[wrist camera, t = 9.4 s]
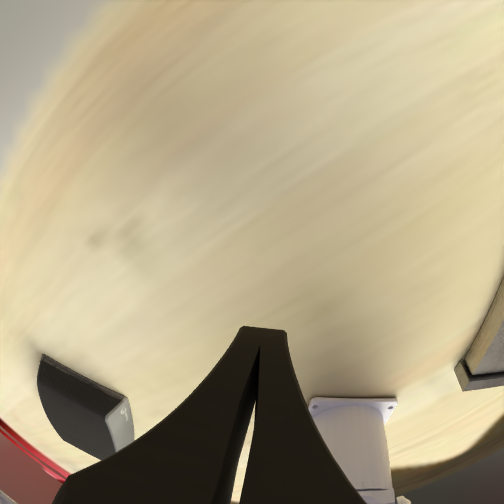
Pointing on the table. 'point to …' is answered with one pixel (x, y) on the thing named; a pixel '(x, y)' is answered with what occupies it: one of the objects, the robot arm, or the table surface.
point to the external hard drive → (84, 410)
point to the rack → (486, 351)
